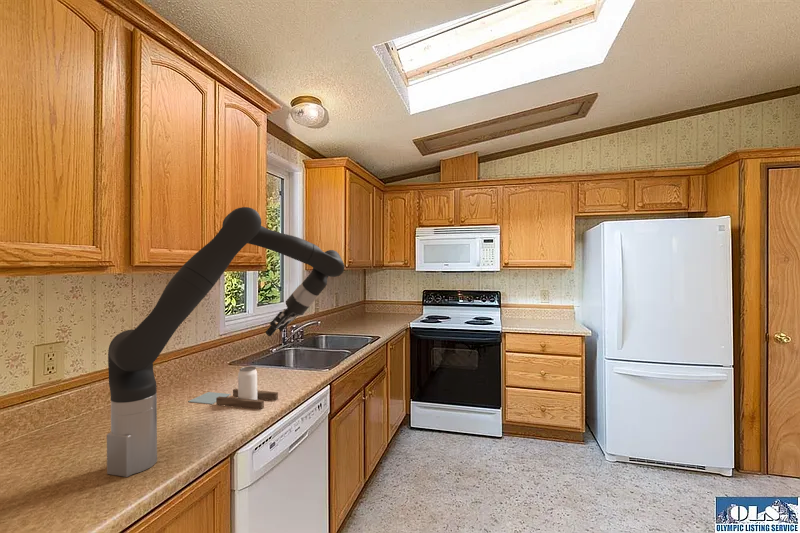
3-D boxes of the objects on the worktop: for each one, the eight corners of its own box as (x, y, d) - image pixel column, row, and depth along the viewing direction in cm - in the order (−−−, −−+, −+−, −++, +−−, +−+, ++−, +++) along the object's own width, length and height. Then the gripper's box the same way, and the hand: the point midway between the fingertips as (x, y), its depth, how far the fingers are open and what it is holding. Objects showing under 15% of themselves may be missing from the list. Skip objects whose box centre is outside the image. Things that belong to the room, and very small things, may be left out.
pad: (211, 404, 133) (211, 403, 133) (188, 402, 135) (188, 401, 135) (230, 394, 143) (230, 394, 143) (208, 392, 145) (208, 391, 145)
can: (250, 406, 131) (250, 371, 131) (234, 404, 133) (233, 370, 133) (261, 399, 138) (260, 366, 138) (245, 398, 139) (245, 365, 139)
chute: (261, 409, 128) (261, 402, 128) (216, 405, 132) (216, 397, 132) (278, 399, 138) (278, 392, 138) (235, 395, 142) (235, 388, 142)
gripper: (302, 289, 138) (275, 320, 140) (285, 293, 124) (255, 328, 126) (317, 302, 137) (290, 334, 140) (301, 308, 123) (271, 344, 126)
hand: (273, 331), depth 133 cm, fingers open, 8 cm apart
